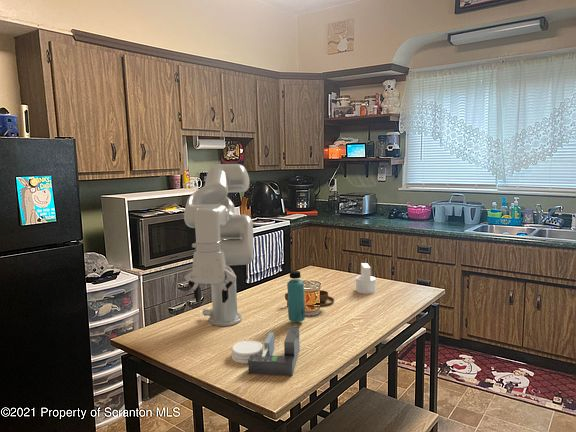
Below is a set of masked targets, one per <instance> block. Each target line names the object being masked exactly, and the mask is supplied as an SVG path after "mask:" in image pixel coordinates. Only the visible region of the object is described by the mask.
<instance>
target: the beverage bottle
mask: <svg viewBox="0 0 576 432" xmlns="http://www.w3.org/2000/svg"><path fill="white" fill-rule="evenodd" d="M289 278H290V280H289V281H288V282H287V283H286V286H287V293H288V307H287V316H288V320H289V321H290V322H294V323H299V322H303V321H305V319H306V310H305V309H306V307H305V303H306V301H305V289H304V288H305V287H304V284H305V283H304V281H303V280H301V279H300V278H301V272H300V271H299V270H291V271H289Z"/></svg>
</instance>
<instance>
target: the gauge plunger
mask: <svg viewBox="0 0 576 432" xmlns="http://www.w3.org/2000/svg"><path fill="white" fill-rule="evenodd" d="M263 345H264V346H263V349H264V350H263V355H262V358H265V356H266V355H270V356H273V355H274V354H273V353H274V352H275V332H269V333H267V336H266V339H265V341H264V344H263Z"/></svg>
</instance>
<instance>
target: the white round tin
mask: <svg viewBox="0 0 576 432" xmlns="http://www.w3.org/2000/svg"><path fill="white" fill-rule="evenodd" d="M263 349H264V346H263V344H262V343H261V342H259V341H257V340H244V341H238V342H236V343H235V344H233V345H232V346H231V358H232V360H233V361H234V362H236V363H238V364H244V365H245V364H248V360H249V358H250V356H251V355H263V353H264V350H263Z"/></svg>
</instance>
